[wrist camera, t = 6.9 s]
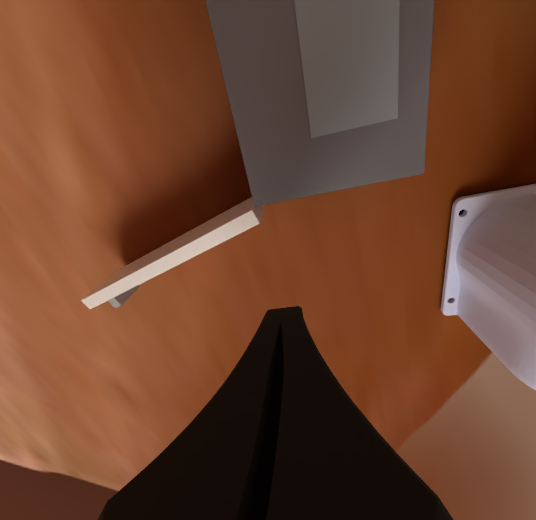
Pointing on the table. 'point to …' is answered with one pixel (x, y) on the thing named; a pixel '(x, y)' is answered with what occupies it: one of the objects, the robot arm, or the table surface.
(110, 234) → the table surface
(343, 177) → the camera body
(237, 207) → the side door
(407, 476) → the robot arm
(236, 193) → the table surface
